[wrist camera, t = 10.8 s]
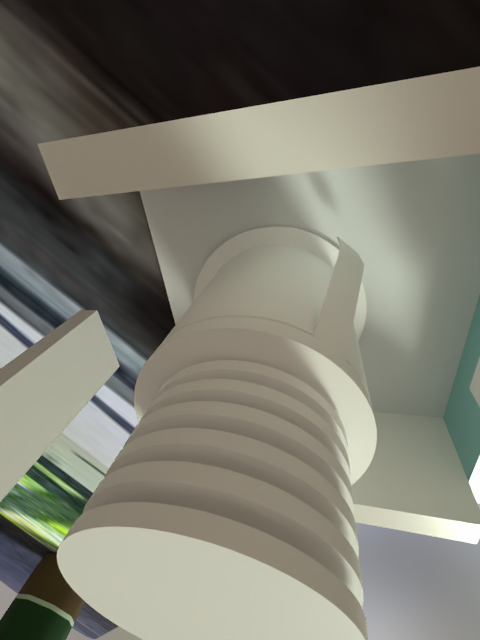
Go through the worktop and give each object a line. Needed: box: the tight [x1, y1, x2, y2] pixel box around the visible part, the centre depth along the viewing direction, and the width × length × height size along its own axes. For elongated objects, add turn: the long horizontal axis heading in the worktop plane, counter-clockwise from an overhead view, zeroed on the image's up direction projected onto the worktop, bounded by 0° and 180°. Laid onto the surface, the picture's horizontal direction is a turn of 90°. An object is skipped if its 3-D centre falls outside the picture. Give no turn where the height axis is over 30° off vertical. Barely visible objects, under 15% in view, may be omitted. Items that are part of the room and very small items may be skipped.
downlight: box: [57, 226, 377, 640], centre depth 9 cm, size 8×7×10 cm
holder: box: [37, 67, 480, 544], centre depth 11 cm, size 13×14×5 cm
